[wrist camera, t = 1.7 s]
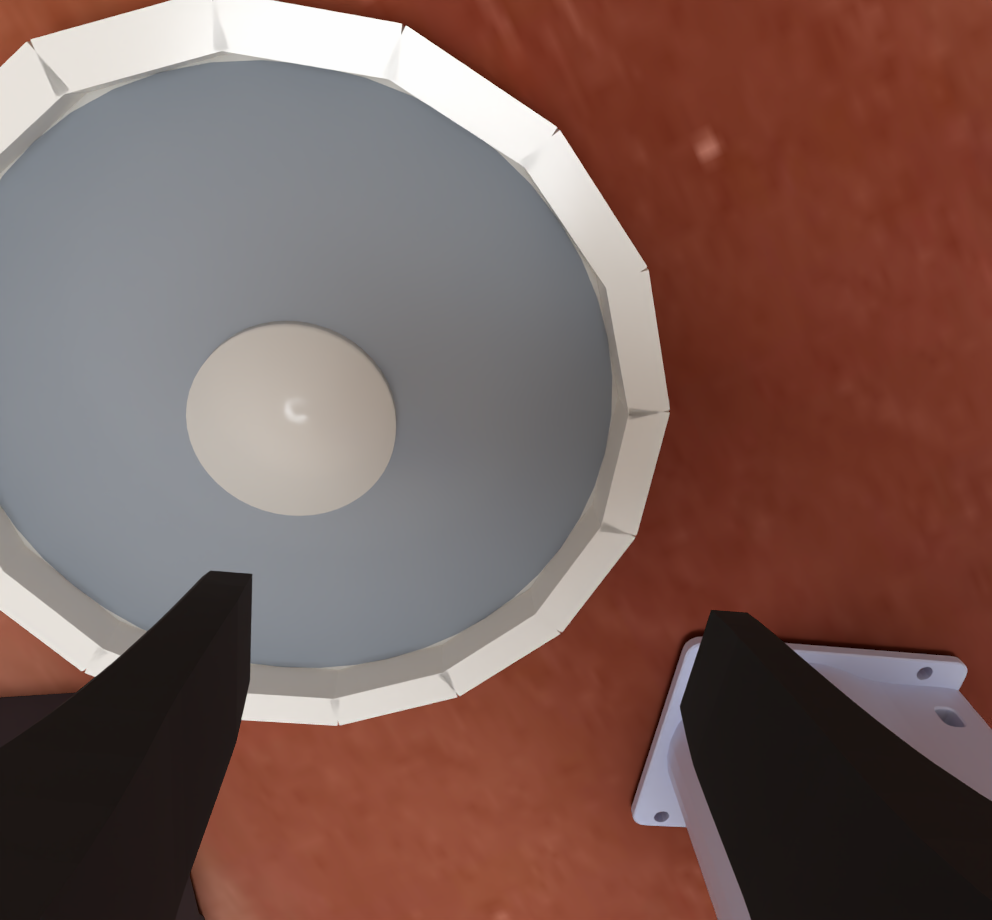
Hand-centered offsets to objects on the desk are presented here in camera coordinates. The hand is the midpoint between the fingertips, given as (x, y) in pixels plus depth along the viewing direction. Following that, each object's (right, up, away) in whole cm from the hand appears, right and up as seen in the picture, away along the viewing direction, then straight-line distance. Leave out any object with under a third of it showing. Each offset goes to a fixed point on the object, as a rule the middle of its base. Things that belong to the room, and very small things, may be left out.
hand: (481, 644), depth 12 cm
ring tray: (-5, +4, +8) cm, 10 cm away
